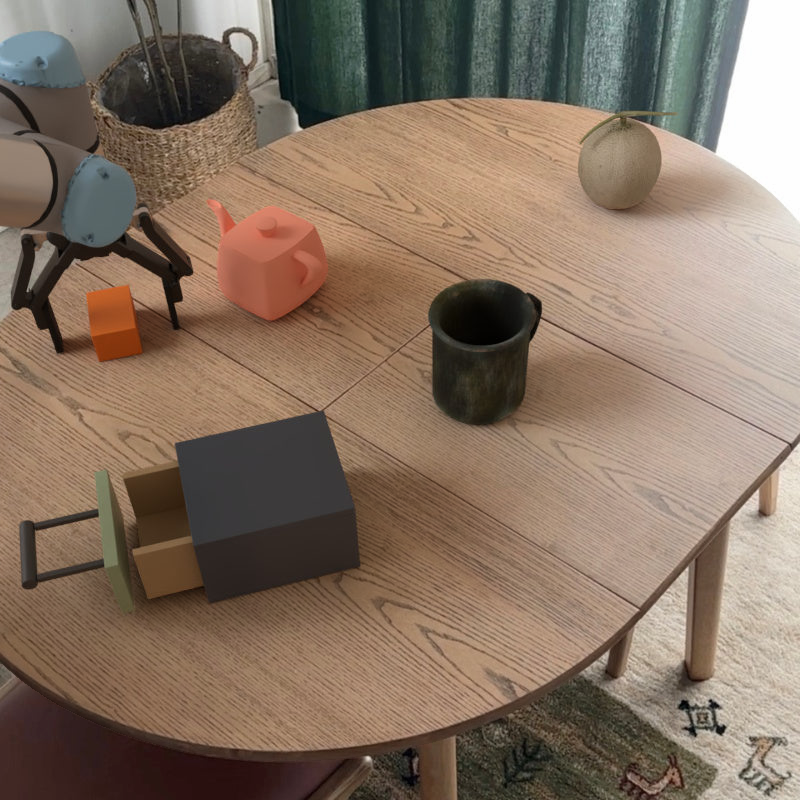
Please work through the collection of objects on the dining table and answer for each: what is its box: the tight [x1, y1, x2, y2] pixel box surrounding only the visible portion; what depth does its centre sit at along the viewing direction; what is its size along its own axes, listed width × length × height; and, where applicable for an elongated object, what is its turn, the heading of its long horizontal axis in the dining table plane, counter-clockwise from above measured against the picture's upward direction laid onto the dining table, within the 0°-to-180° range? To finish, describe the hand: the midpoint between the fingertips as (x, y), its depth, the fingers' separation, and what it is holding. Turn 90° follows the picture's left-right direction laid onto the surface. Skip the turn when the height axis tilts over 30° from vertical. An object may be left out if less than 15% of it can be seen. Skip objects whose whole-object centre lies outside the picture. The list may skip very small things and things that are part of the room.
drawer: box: [18, 460, 204, 614], centre depth 99 cm, size 21×11×7 cm, turn 106°
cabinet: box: [174, 410, 361, 604], centre depth 101 cm, size 15×13×9 cm
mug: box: [427, 278, 543, 426], centre depth 114 cm, size 11×15×12 cm
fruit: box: [577, 110, 678, 210], centre depth 136 cm, size 10×12×15 cm
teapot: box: [206, 198, 329, 321], centre depth 127 cm, size 12×18×10 cm, turn 51°
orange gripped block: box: [85, 284, 143, 363], centre depth 124 cm, size 5×8×4 cm, turn 16°
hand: (118, 333), depth 125 cm, fingers open, 13 cm apart
